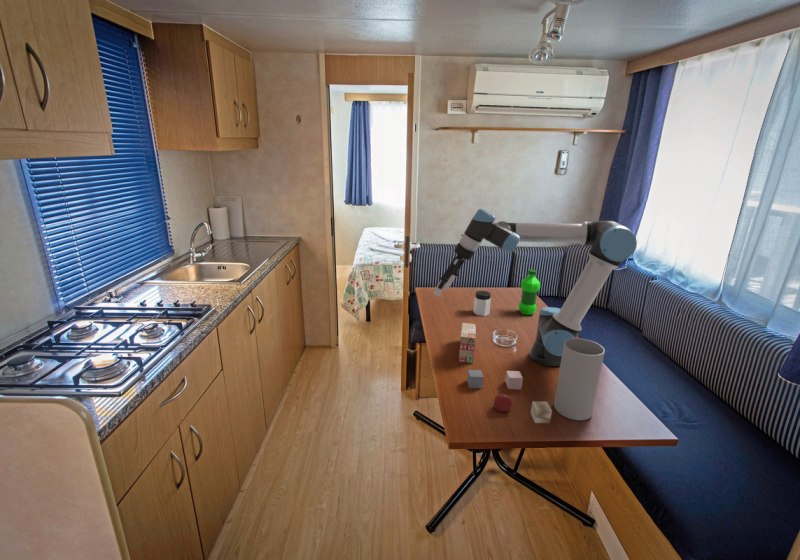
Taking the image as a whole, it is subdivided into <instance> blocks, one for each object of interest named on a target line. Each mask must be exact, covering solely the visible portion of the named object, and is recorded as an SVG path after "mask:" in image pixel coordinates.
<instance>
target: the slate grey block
mask: <svg viewBox="0 0 800 560" xmlns="http://www.w3.org/2000/svg"><path fill="white" fill-rule="evenodd" d="M466 378H467V379H466V382H467V385H468V388H469V389H483V383H484V375H483V371H482V370H481V369H467V377H466Z"/></svg>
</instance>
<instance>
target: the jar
mask: <svg viewBox="0 0 800 560" xmlns="http://www.w3.org/2000/svg"><path fill="white" fill-rule="evenodd" d="M491 295H492V294H491V292H490V291H487V290H477V291H476V292H475V296H474V300H473V311H472V312H473V314H475V315H476V316H478V317H479V316H480V317H487V316H488V315H490V314H491V313H490V311H491V302H492V298H491Z"/></svg>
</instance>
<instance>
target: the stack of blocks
mask: <svg viewBox="0 0 800 560" xmlns="http://www.w3.org/2000/svg"><path fill="white" fill-rule="evenodd" d="M476 333H477V328H476V324H475V323H468V322H461V332H460V340H459V353H458V362H459V363H465V362H467V363H466V364H473V363H474V356H475V347H476V338H477V337H476V335H477V334H476Z"/></svg>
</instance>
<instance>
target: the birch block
mask: <svg viewBox="0 0 800 560" xmlns="http://www.w3.org/2000/svg"><path fill="white" fill-rule="evenodd" d="M552 414H553V410H552V408H551V407H550V405H549V403H548V401H535V400H534V401H533V400H532V401H531V409H530V415H531V418H532V420H533V422H534V423H535V424H550V423H551V419H552Z"/></svg>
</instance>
